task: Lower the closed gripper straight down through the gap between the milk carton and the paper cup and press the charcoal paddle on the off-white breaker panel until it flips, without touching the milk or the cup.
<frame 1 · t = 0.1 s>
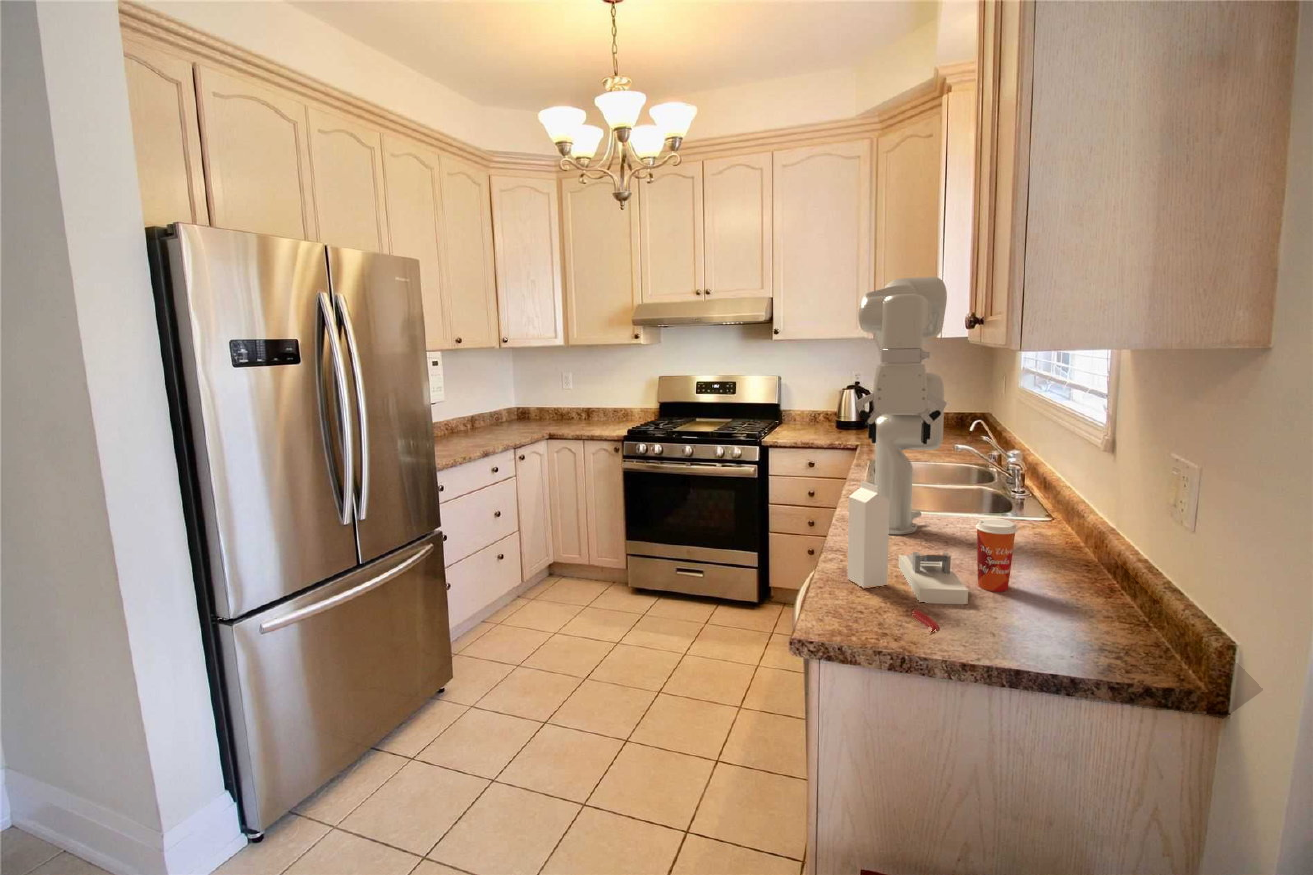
hand: (898, 442, 133), 31 cm above the worktop, tool pointing down, fingers open, 9 cm apart
breaker paddle: (931, 558, 138), point 6 cm above the worktop, hinge at -20.0°
paper cup: (993, 587, 137), on the worktop
milk: (866, 583, 141), on the worktop
breaker panel: (930, 584, 139), on the worktop
cayenne pepper: (924, 624, 122), on the worktop
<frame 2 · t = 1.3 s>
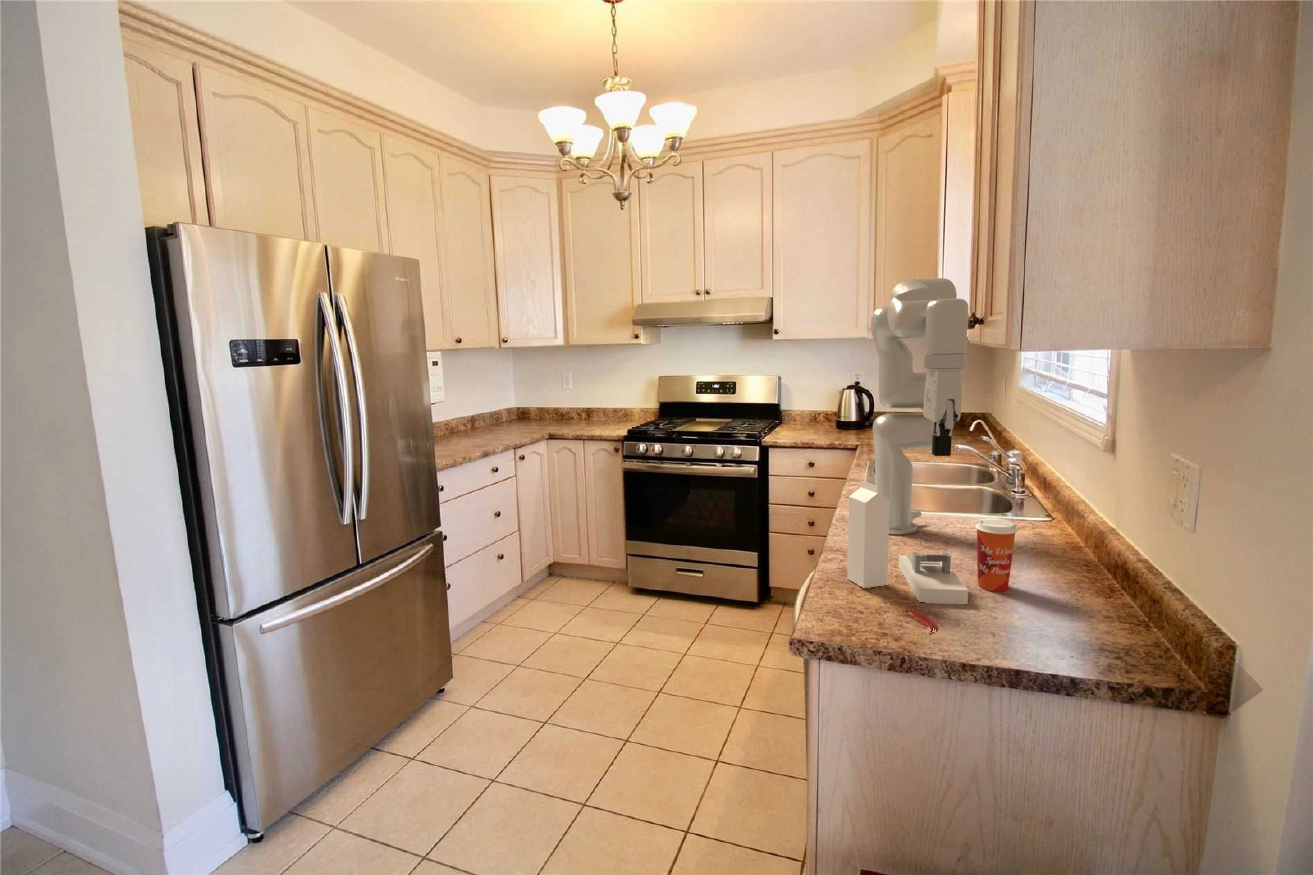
hand: (941, 455, 131), 29 cm above the worktop, tool pointing down, fingers closed
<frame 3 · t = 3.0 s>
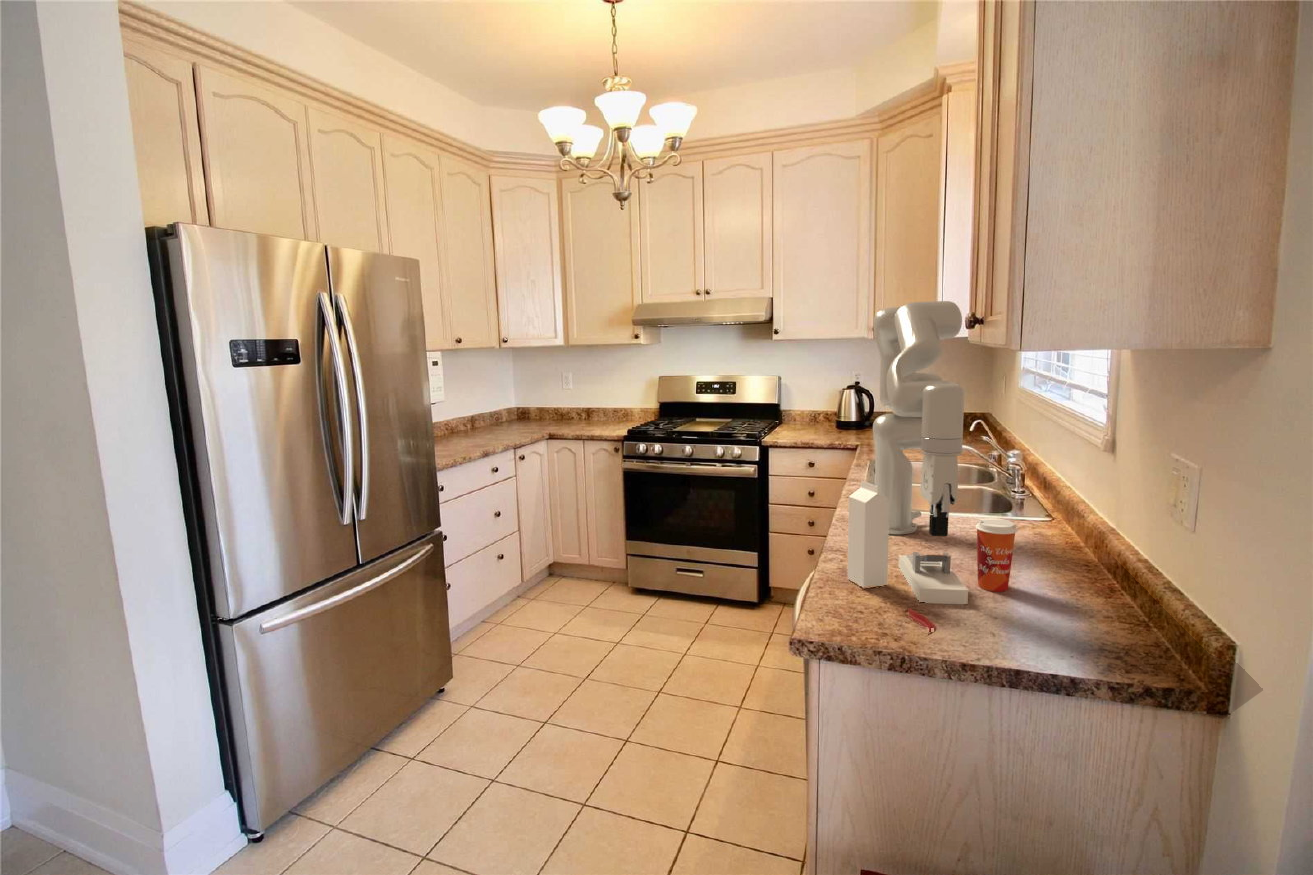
hand: (938, 534, 133), 12 cm above the worktop, tool pointing down, fingers closed
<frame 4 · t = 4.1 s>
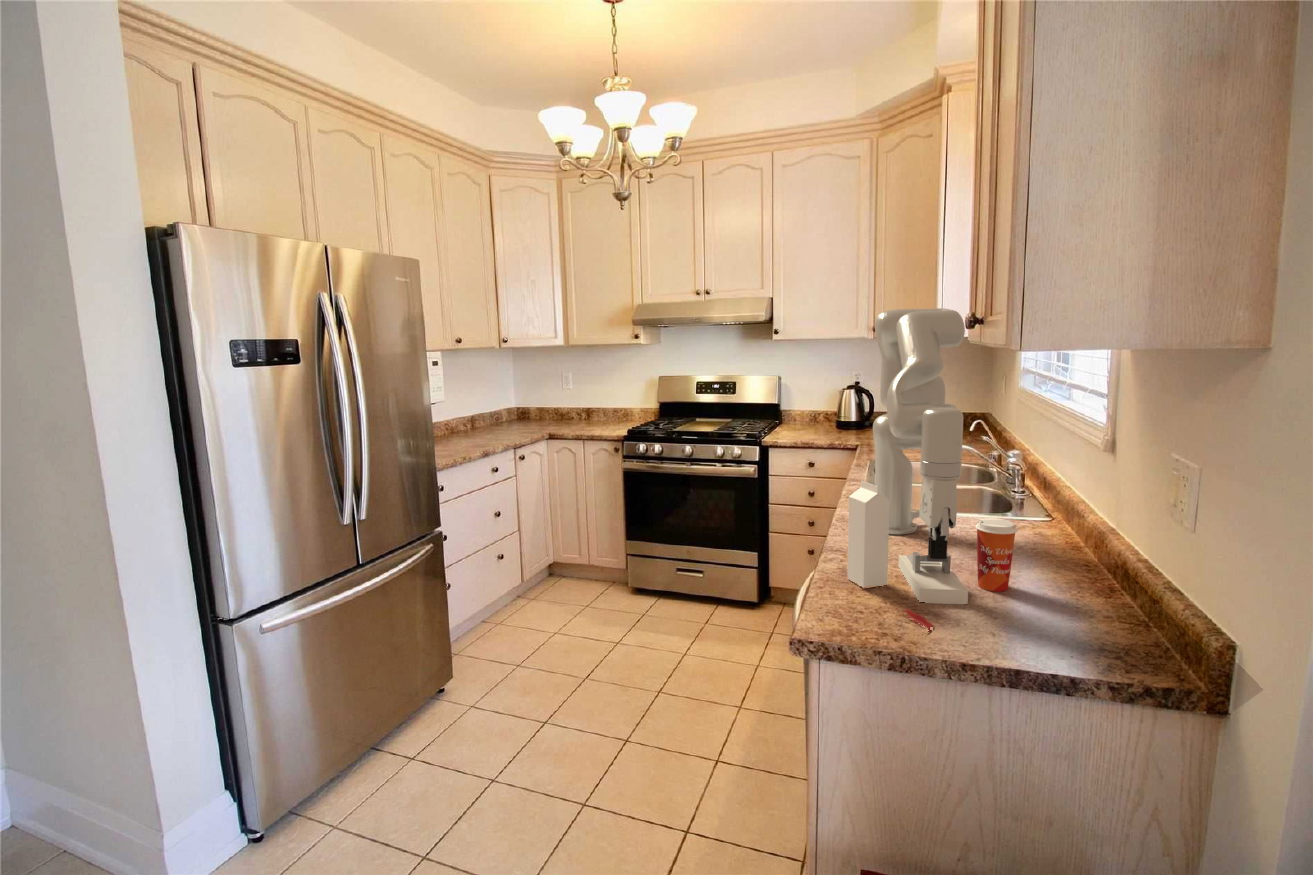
hand: (937, 557, 134), 8 cm above the worktop, tool pointing down, fingers closed
breaker paddle: (931, 558, 138), point 6 cm above the worktop, hinge at -19.0°, touching gripper
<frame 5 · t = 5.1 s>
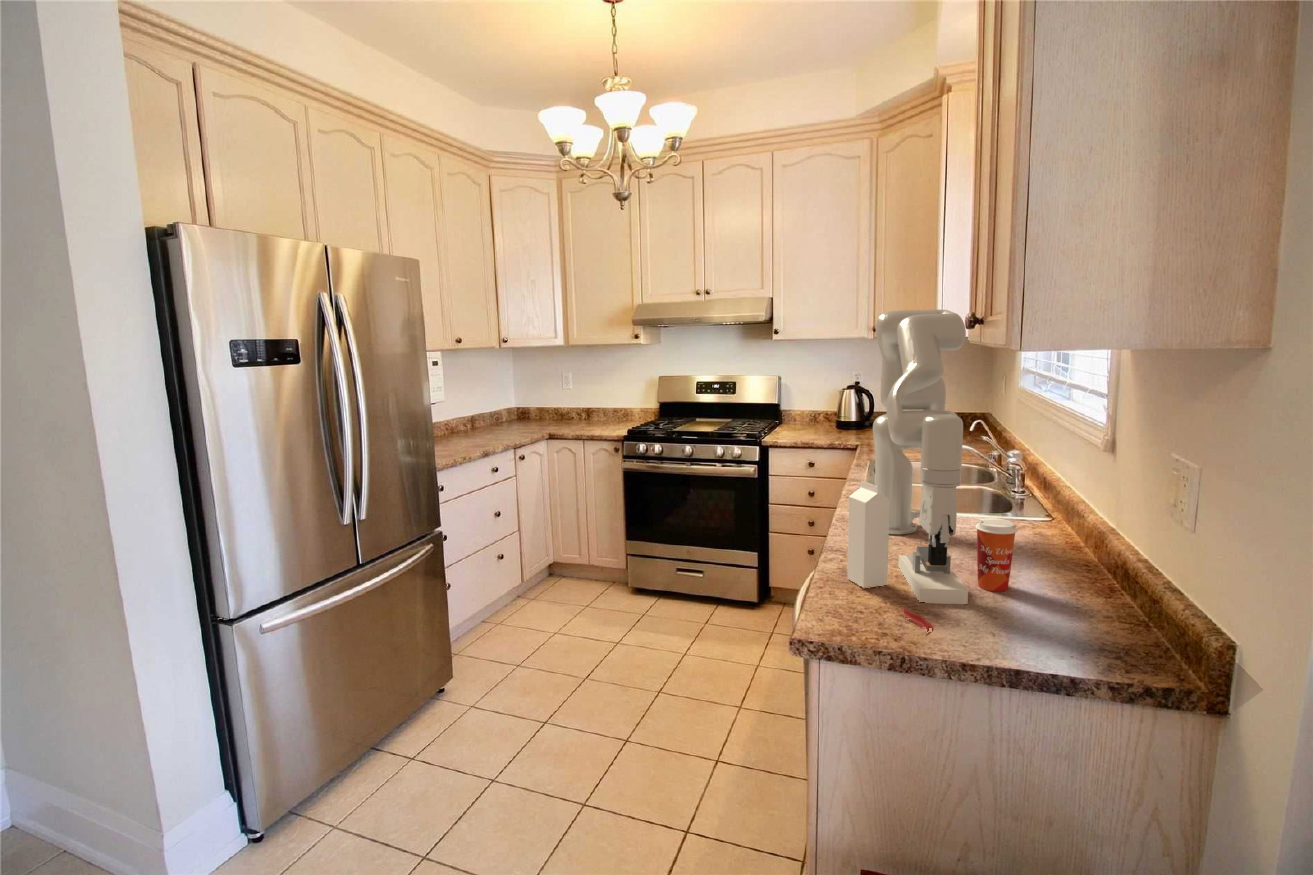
hand: (937, 564, 134), 6 cm above the worktop, tool pointing down, fingers closed
breaker paddle: (931, 558, 138), point 6 cm above the worktop, hinge at 7.3°, touching gripper
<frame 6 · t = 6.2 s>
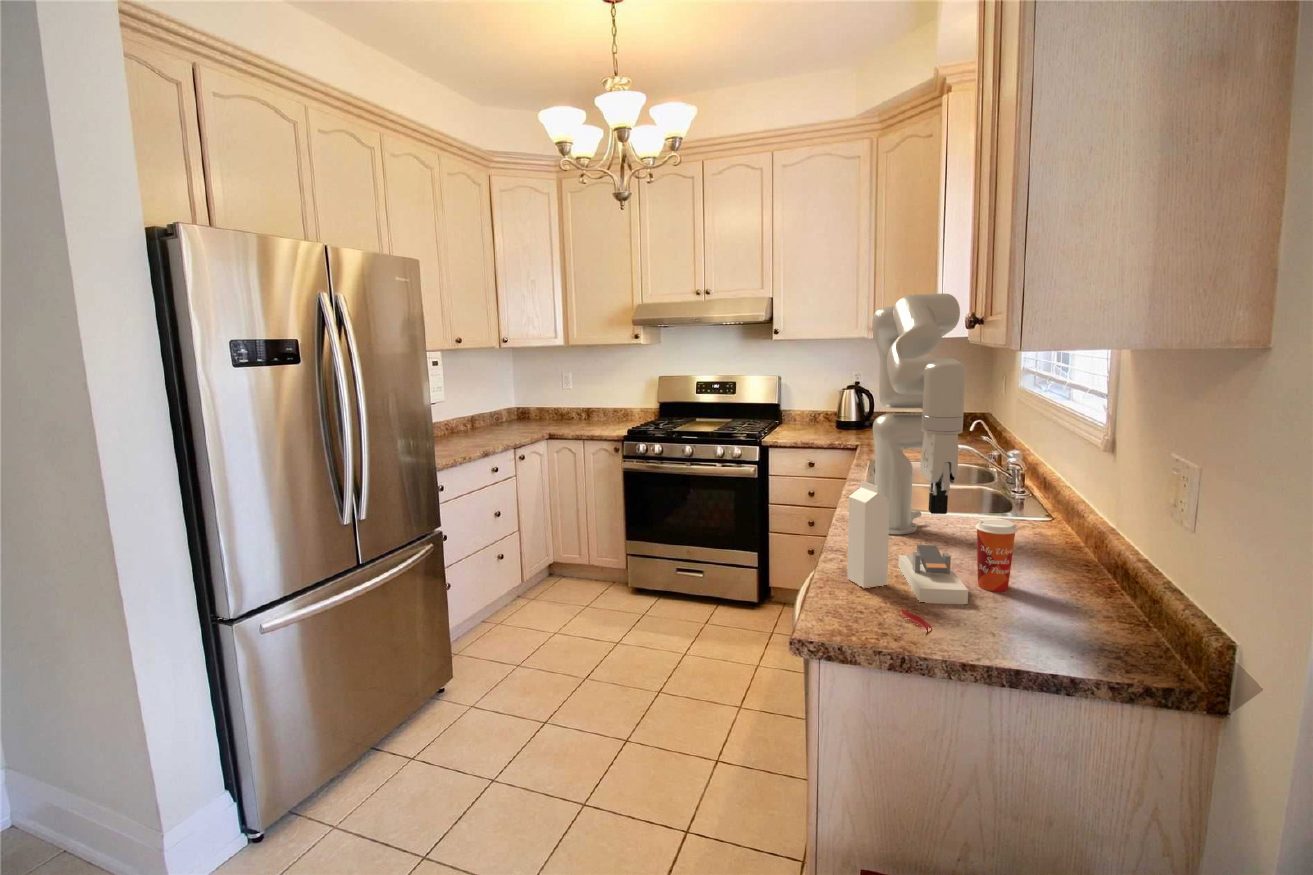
hand: (937, 512, 133), 17 cm above the worktop, tool pointing down, fingers closed
breaker paddle: (931, 558, 138), point 6 cm above the worktop, hinge at 12.4°
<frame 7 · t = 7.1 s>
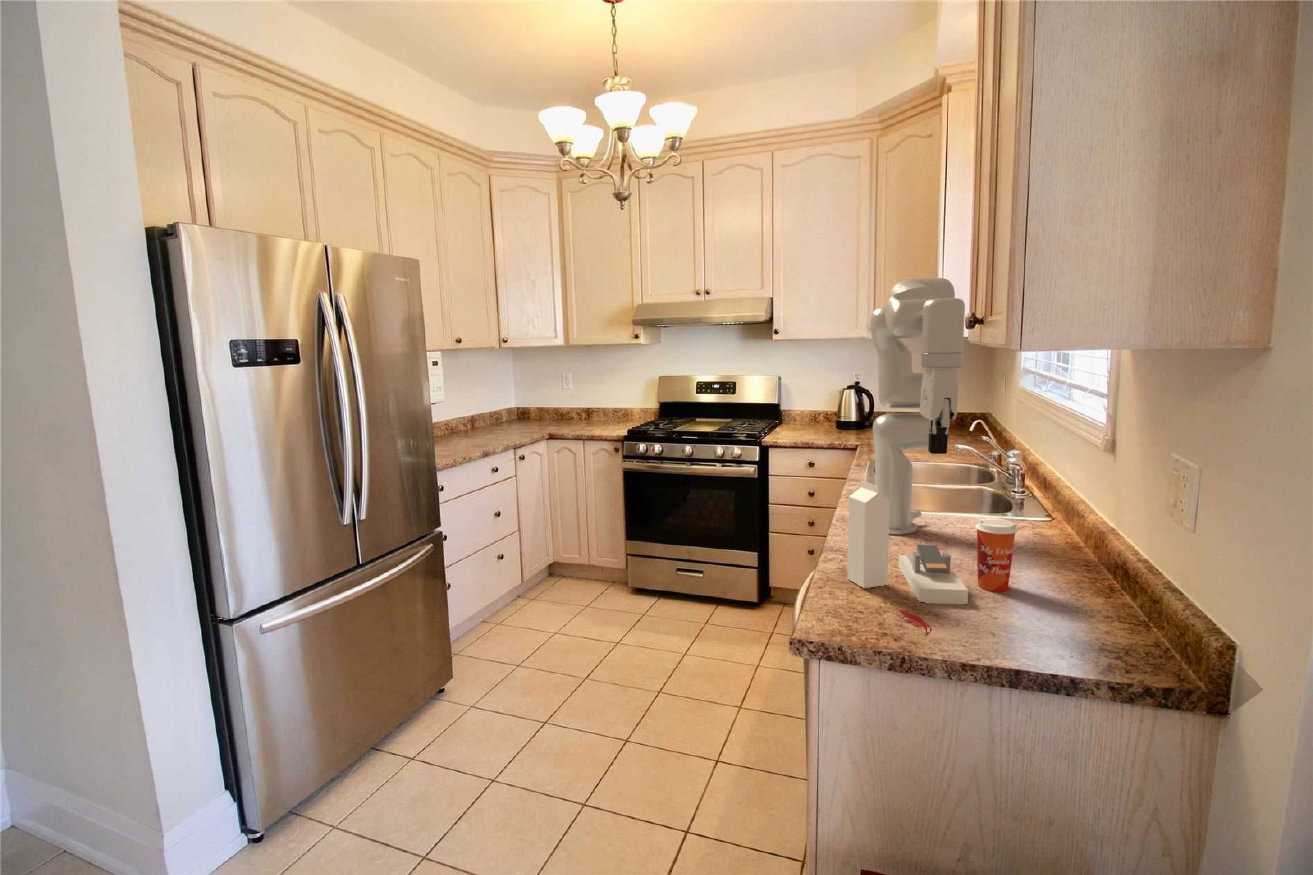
hand: (937, 452, 132), 29 cm above the worktop, tool pointing down, fingers closed
breaker paddle: (931, 558, 138), point 6 cm above the worktop, hinge at 13.0°
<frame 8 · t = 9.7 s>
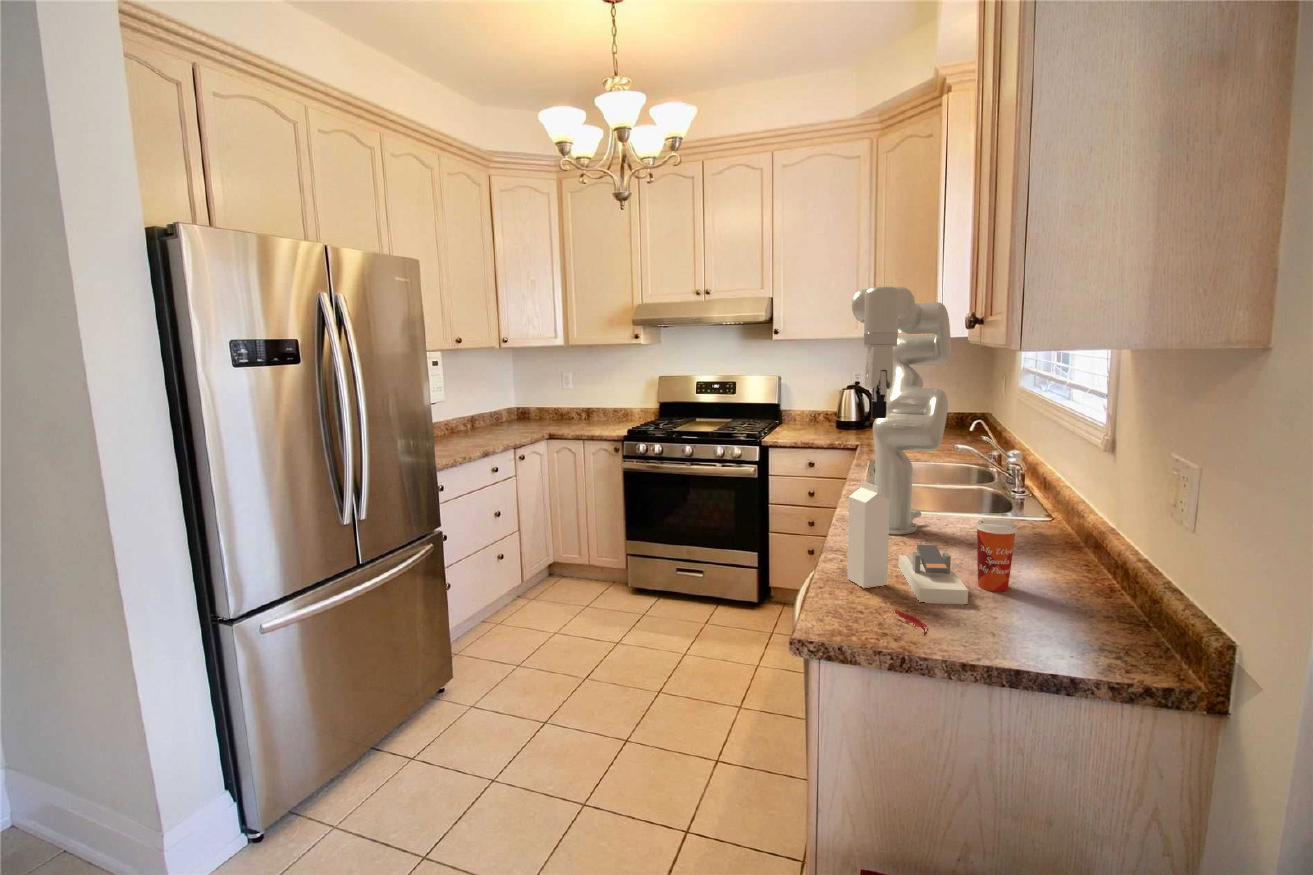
hand: (878, 417, 157), 33 cm above the worktop, tool pointing down, fingers closed
at the end: breaker paddle at +13° (first picture: -20°); milk moved 0.2 cm from its start; paper cup moved 0.2 cm from its start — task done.
